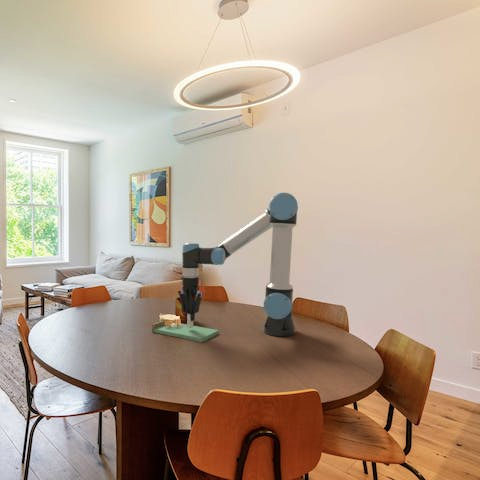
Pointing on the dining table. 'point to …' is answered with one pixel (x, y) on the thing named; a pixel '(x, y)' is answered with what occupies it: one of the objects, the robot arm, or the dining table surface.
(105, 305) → the dining table surface
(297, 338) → the dining table surface
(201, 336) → the board with hole
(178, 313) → the mug
